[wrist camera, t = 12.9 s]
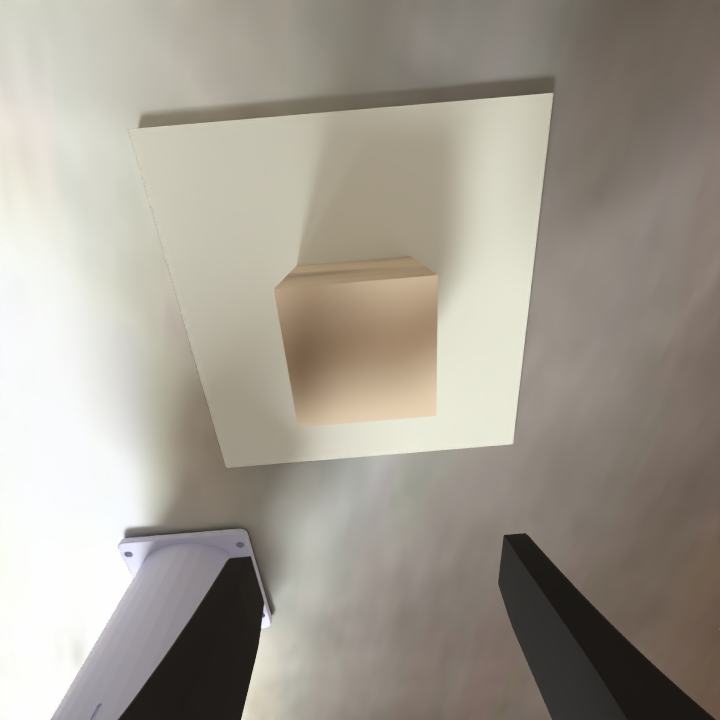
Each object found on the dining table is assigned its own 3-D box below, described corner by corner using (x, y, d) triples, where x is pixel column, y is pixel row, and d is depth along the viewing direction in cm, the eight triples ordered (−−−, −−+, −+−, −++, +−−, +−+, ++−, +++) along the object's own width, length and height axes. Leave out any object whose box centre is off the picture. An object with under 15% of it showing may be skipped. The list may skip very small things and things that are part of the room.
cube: (412, 361, 17) (436, 415, 12) (311, 369, 17) (298, 427, 12) (410, 256, 15) (438, 274, 10) (296, 265, 15) (273, 288, 10)
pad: (508, 437, 20) (512, 444, 19) (229, 460, 20) (226, 468, 19) (545, 97, 13) (553, 92, 13) (136, 132, 14) (127, 129, 13)
